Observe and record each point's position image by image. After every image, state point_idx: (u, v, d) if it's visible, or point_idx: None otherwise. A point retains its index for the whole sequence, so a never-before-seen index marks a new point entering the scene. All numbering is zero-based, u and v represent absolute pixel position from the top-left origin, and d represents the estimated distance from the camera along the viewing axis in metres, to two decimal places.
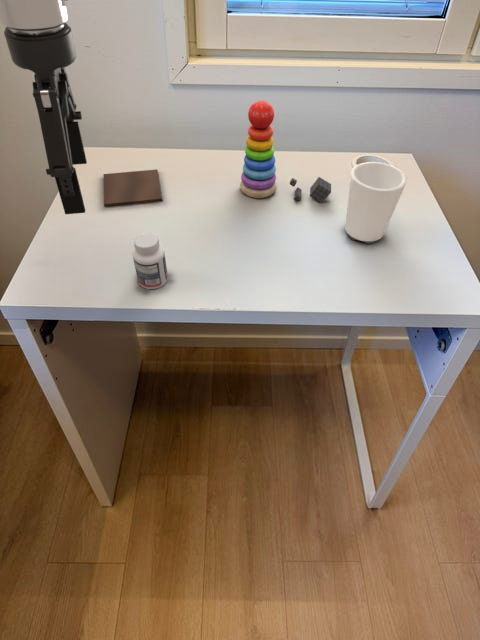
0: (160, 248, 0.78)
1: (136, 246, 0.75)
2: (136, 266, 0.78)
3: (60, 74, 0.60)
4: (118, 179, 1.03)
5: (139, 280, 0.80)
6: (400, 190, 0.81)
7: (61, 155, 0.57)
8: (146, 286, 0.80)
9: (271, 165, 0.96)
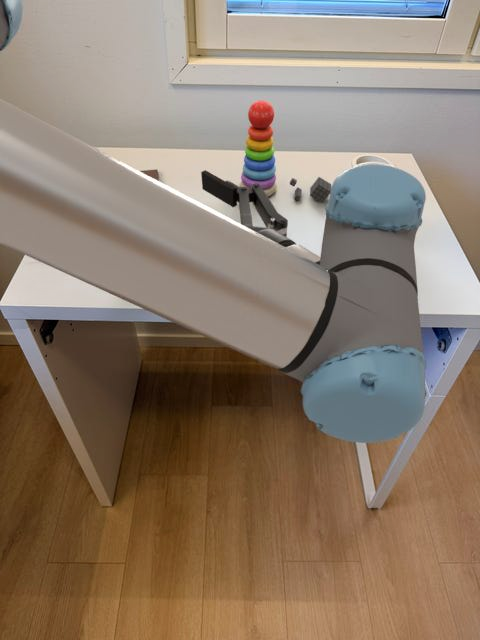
0: None
1: None
2: None
3: None
4: None
5: None
6: None
7: None
8: None
9: (271, 165, 0.96)
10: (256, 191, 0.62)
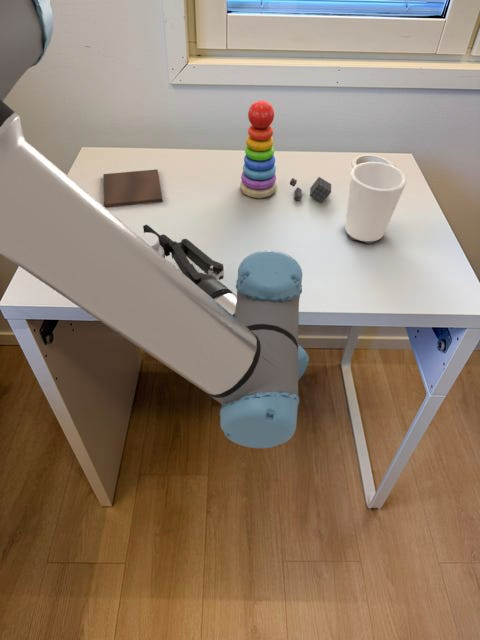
0: (160, 248, 0.78)
1: None
2: None
3: None
4: (118, 179, 1.03)
5: None
6: (400, 190, 0.81)
7: None
8: None
9: (271, 165, 0.96)
10: (187, 245, 0.77)
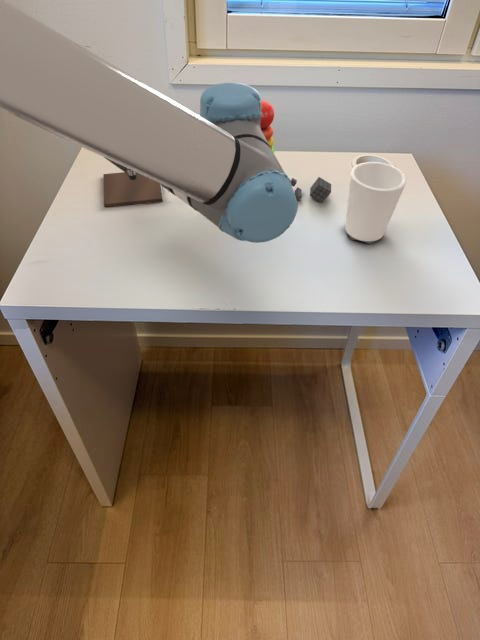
0: None
1: None
2: None
3: None
4: (118, 179, 1.03)
5: None
6: (400, 190, 0.81)
7: None
8: None
9: None
10: None
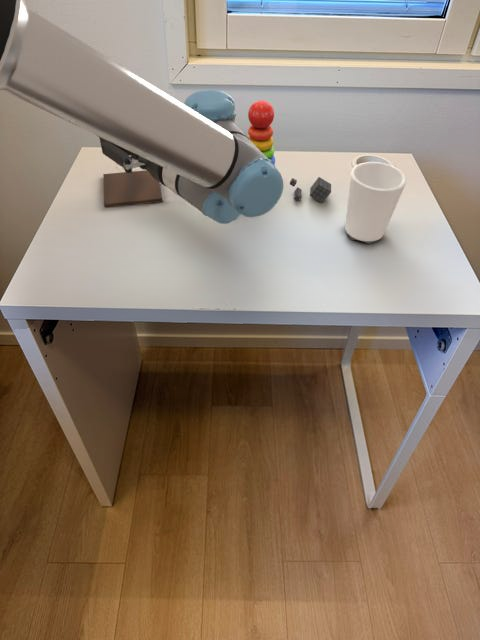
0: None
1: None
2: None
3: None
4: (118, 179, 1.03)
5: None
6: (400, 190, 0.81)
7: (107, 154, 0.88)
8: None
9: None
10: None
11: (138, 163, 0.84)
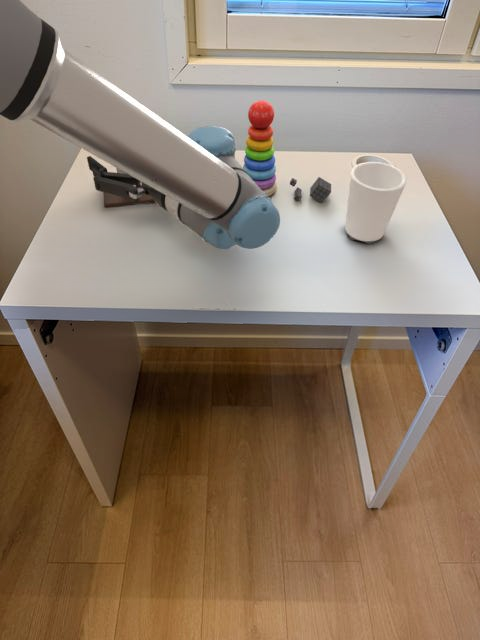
0: None
1: None
2: (118, 170, 0.96)
3: None
4: None
5: None
6: (400, 190, 0.81)
7: (104, 189, 0.89)
8: None
9: (271, 165, 0.96)
10: None
11: (144, 190, 0.88)
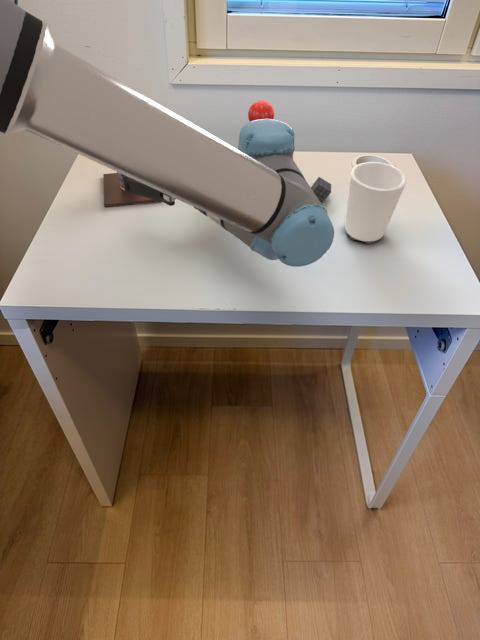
0: None
1: None
2: None
3: None
4: (118, 179, 1.03)
5: (120, 184, 0.99)
6: (400, 190, 0.81)
7: (135, 191, 0.79)
8: None
9: None
10: None
11: None
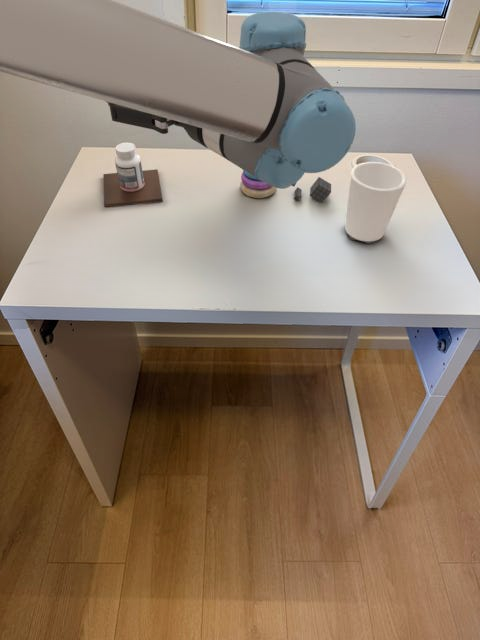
0: (137, 156, 0.96)
1: (117, 151, 0.94)
2: (118, 170, 0.96)
3: None
4: (118, 179, 1.03)
5: (120, 184, 0.99)
6: (400, 190, 0.81)
7: (123, 119, 0.70)
8: (126, 189, 0.99)
9: None
10: None
11: None
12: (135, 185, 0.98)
